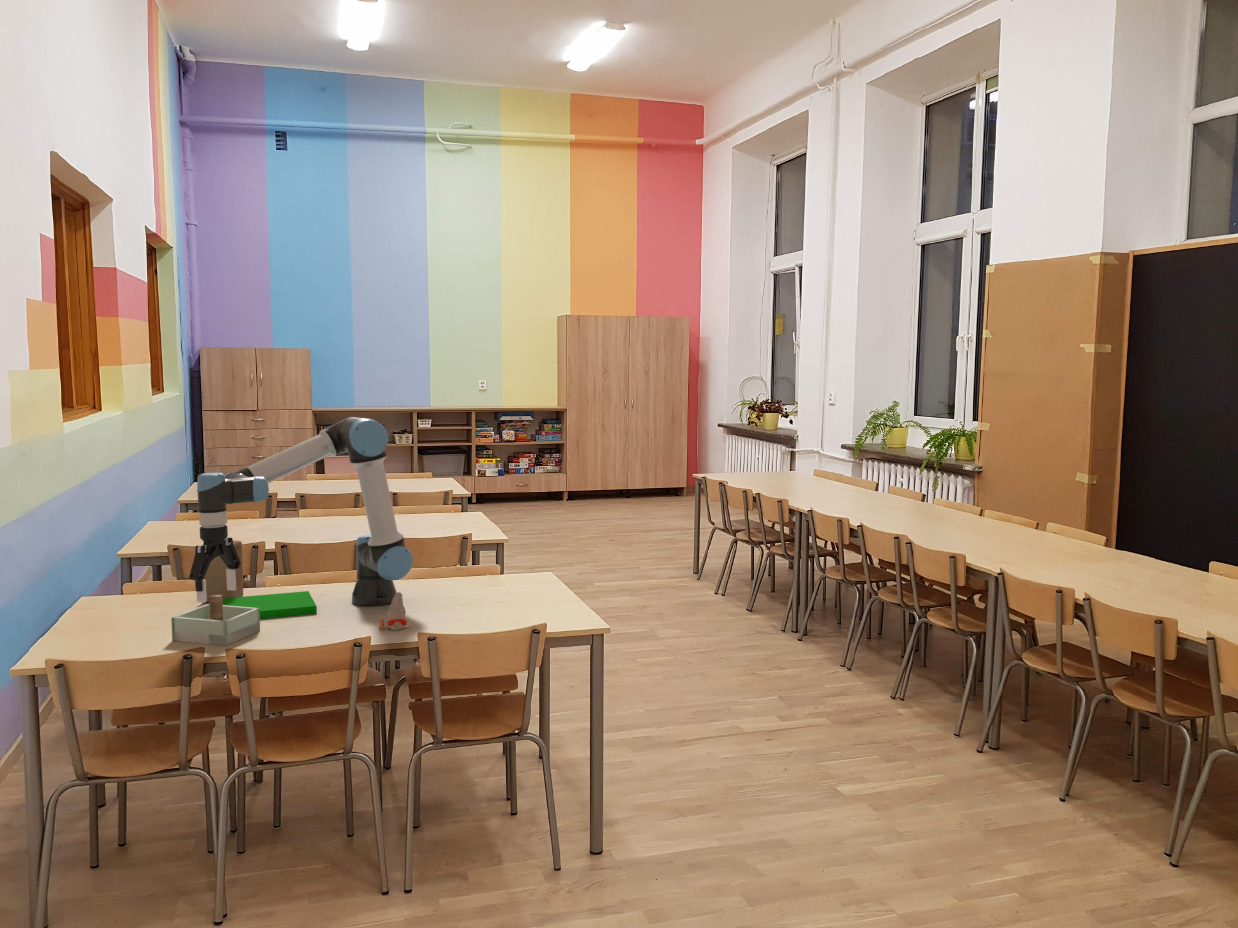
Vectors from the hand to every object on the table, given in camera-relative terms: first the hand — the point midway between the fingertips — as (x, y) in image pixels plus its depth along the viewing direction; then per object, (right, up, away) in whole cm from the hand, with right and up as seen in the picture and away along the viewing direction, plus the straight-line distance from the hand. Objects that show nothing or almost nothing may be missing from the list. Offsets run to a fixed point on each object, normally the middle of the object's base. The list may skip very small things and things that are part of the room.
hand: (217, 595), depth 272 cm
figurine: (+50, -12, +11) cm, 53 cm away
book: (+3, -10, +31) cm, 32 cm away
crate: (-1, -12, +1) cm, 12 cm away
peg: (-1, -12, +1) cm, 12 cm away
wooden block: (-17, -8, +42) cm, 46 cm away
